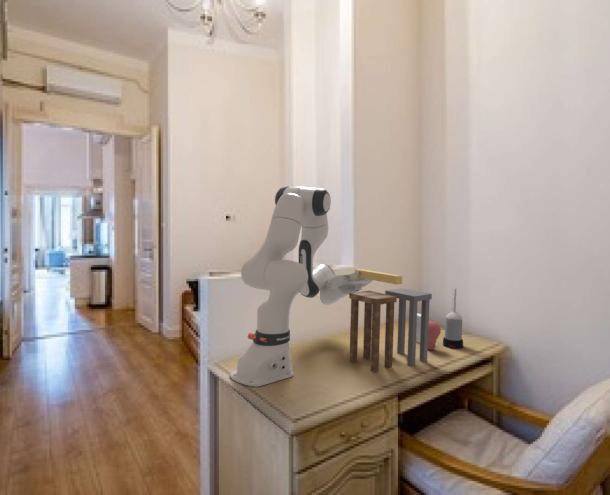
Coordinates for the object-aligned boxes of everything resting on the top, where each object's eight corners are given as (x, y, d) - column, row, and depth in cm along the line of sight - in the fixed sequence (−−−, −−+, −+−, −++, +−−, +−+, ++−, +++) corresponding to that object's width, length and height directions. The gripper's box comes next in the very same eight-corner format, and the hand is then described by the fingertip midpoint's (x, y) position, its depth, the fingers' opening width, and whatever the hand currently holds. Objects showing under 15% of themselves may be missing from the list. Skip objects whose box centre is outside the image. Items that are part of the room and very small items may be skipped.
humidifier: (449, 349, 163) (452, 290, 161) (439, 343, 171) (441, 286, 169) (467, 348, 164) (469, 289, 163) (455, 342, 172) (458, 286, 171)
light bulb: (440, 353, 157) (442, 324, 157) (422, 351, 159) (423, 322, 158) (438, 347, 164) (439, 319, 163) (421, 346, 166) (422, 318, 165)
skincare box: (426, 342, 172) (427, 315, 171) (420, 343, 170) (421, 316, 169) (415, 338, 177) (416, 312, 176) (409, 340, 175) (410, 313, 174)
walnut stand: (347, 361, 146) (349, 292, 144) (366, 356, 152) (368, 290, 150) (374, 373, 135) (376, 299, 133) (394, 367, 140) (396, 296, 139)
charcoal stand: (383, 355, 153) (385, 290, 151) (400, 351, 159) (402, 288, 157) (411, 367, 141) (414, 296, 140) (429, 361, 147) (431, 293, 146)
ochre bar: (354, 276, 158) (354, 269, 158) (360, 276, 160) (360, 269, 159) (396, 284, 140) (396, 276, 140) (402, 283, 142) (402, 275, 141)
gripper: (321, 280, 161) (341, 266, 151) (358, 276, 173) (378, 264, 163) (326, 294, 159) (346, 281, 149) (362, 290, 171) (383, 278, 161)
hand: (363, 272), depth 156 cm, fingers closed on ochre bar, 3 cm apart
